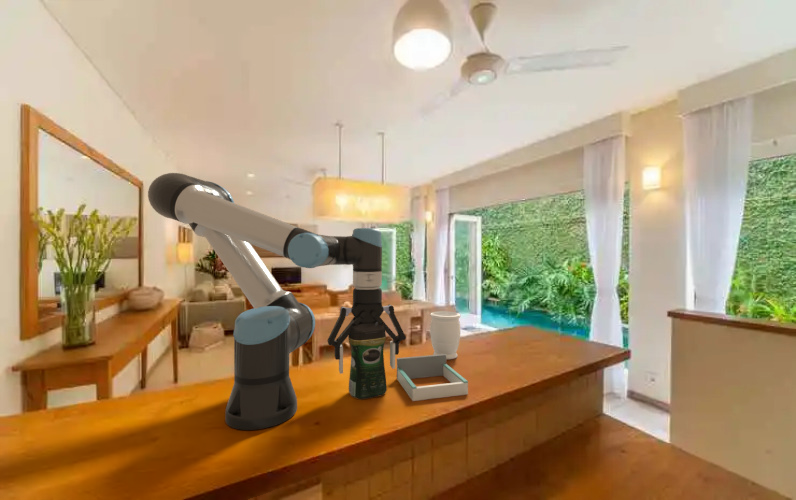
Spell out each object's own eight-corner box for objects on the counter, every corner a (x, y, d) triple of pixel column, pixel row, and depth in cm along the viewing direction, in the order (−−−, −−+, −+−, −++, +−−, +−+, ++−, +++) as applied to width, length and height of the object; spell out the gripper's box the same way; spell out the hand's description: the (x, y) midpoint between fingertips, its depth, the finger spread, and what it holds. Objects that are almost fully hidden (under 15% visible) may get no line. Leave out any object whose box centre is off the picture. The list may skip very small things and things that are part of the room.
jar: (464, 354, 121) (464, 312, 121) (453, 362, 112) (453, 317, 112) (437, 350, 127) (437, 310, 127) (424, 357, 118) (424, 314, 118)
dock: (412, 401, 84) (412, 376, 84) (396, 378, 98) (396, 358, 98) (467, 394, 88) (467, 371, 88) (444, 373, 102) (444, 354, 102)
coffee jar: (379, 384, 94) (379, 317, 94) (390, 396, 87) (390, 323, 87) (345, 390, 90) (345, 320, 90) (353, 402, 83) (353, 326, 83)
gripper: (318, 290, 81) (318, 379, 81) (417, 287, 88) (417, 369, 88) (317, 287, 89) (317, 368, 89) (408, 285, 95) (408, 360, 95)
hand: (367, 369), depth 88 cm, fingers open, 13 cm apart
